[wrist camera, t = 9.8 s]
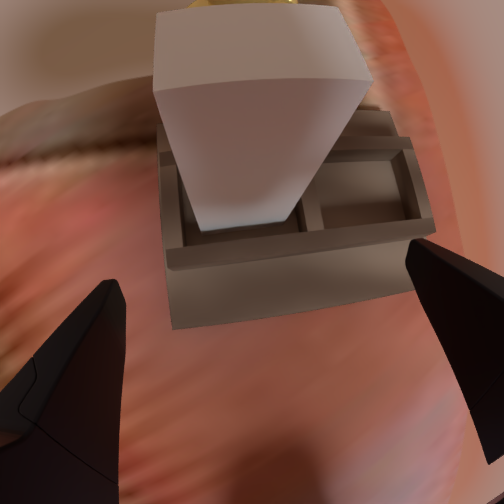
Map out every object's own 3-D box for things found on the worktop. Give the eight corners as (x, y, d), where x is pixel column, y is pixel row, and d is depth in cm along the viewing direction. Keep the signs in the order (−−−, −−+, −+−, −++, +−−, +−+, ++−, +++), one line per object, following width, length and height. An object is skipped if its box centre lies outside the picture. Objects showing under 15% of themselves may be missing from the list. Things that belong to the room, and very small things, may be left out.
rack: (425, 286, 21) (451, 282, 18) (175, 328, 20) (166, 332, 17) (383, 118, 24) (399, 98, 20) (159, 132, 22) (151, 108, 19)
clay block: (282, 225, 20) (373, 81, 6) (202, 235, 20) (152, 91, 6) (274, 181, 21) (337, 7, 7) (197, 189, 20) (156, 12, 6)
